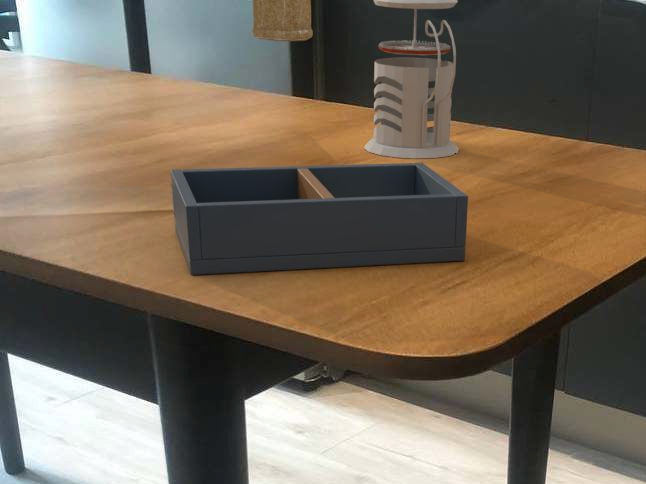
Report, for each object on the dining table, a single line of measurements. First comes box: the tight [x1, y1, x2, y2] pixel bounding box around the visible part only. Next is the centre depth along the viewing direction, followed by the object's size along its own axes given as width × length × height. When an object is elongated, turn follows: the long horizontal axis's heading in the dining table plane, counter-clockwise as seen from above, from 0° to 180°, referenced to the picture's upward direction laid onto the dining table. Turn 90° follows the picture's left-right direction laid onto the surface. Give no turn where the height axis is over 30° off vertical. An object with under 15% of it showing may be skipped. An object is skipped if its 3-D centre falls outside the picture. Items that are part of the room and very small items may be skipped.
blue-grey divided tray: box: [170, 162, 469, 276], centre depth 77 cm, size 19×11×4 cm, turn 106°
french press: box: [363, 0, 460, 159], centre depth 104 cm, size 10×12×25 cm
